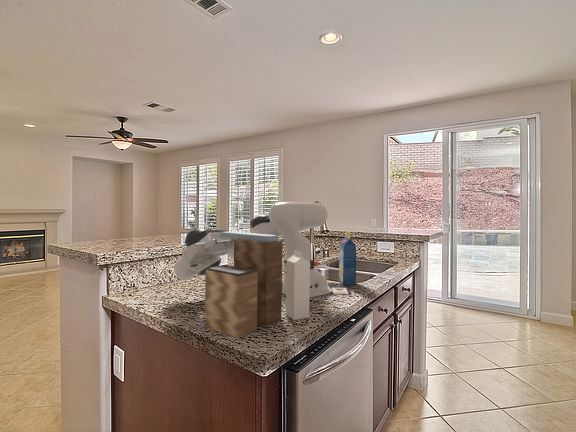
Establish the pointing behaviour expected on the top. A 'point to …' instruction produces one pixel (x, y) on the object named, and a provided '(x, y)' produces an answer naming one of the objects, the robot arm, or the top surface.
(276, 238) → the slat
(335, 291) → the chocolate bar
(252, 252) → the stand
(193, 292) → the top surface
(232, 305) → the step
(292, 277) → the milk
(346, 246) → the blue food package
